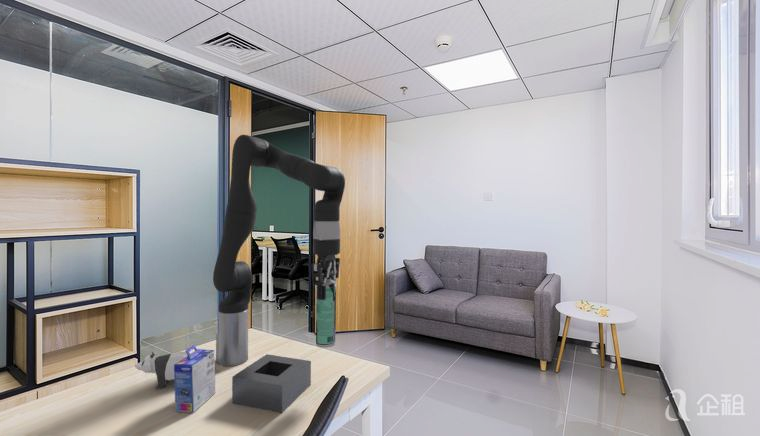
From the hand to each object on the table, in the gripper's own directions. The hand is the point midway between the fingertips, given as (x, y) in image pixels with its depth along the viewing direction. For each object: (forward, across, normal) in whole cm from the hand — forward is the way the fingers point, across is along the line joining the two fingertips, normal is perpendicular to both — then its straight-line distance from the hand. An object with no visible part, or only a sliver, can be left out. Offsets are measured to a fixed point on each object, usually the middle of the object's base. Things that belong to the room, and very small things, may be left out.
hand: (326, 296), depth 97 cm
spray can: (+14, 0, 0) cm, 14 cm away
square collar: (+27, +6, -13) cm, 30 cm away
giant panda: (+27, +11, -45) cm, 53 cm away
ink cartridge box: (+27, +16, -30) cm, 43 cm away
